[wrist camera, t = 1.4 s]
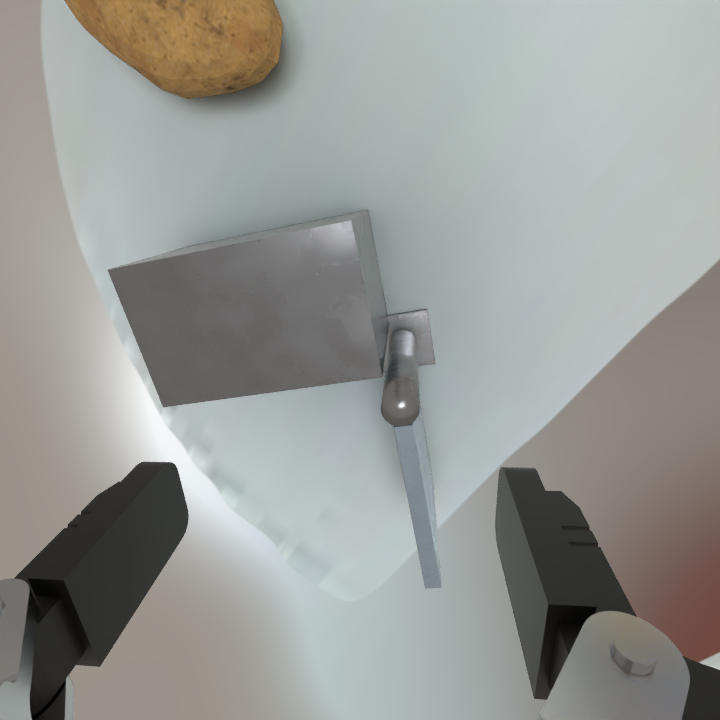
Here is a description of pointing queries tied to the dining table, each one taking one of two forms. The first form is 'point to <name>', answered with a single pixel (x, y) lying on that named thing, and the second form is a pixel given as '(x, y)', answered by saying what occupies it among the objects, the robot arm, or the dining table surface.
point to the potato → (188, 40)
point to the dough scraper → (412, 447)
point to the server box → (265, 312)
